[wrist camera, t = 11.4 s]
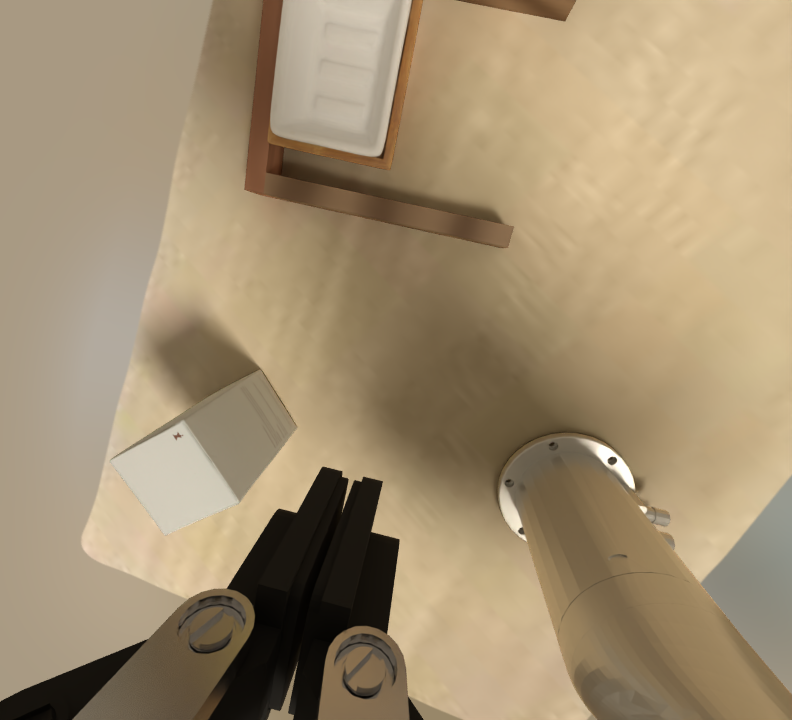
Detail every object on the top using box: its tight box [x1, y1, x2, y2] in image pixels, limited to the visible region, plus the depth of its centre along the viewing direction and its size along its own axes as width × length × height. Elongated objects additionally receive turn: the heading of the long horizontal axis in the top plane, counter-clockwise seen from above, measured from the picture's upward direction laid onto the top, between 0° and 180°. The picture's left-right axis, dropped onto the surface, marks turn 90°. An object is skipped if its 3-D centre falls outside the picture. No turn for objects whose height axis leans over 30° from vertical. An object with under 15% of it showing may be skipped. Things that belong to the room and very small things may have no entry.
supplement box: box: [110, 369, 297, 536], centre depth 35 cm, size 7×7×13 cm
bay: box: [244, 0, 576, 248], centre depth 26 cm, size 25×23×11 cm
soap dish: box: [268, 0, 423, 170], centre depth 30 cm, size 12×10×5 cm
